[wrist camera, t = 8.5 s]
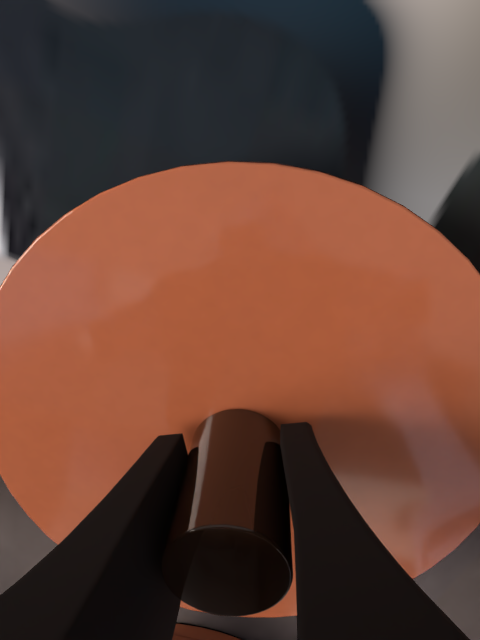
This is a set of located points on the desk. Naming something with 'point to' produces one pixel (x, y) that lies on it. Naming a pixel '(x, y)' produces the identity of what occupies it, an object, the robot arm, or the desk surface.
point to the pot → (198, 633)
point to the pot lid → (245, 368)
